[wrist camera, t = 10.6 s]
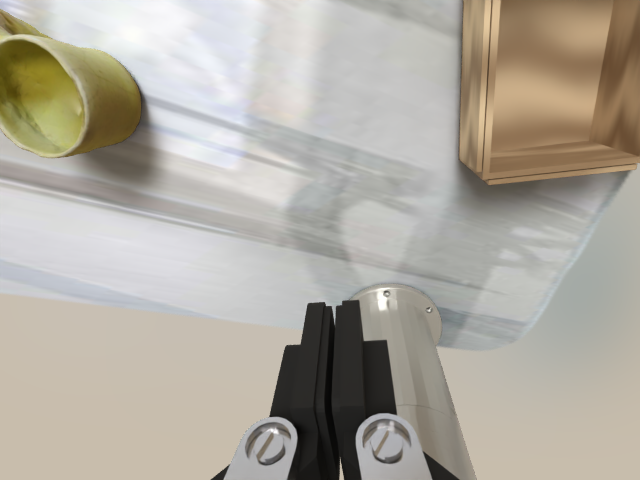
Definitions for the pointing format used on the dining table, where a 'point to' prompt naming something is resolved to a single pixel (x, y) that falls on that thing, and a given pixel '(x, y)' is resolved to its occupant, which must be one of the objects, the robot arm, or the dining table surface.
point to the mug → (61, 94)
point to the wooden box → (549, 88)
